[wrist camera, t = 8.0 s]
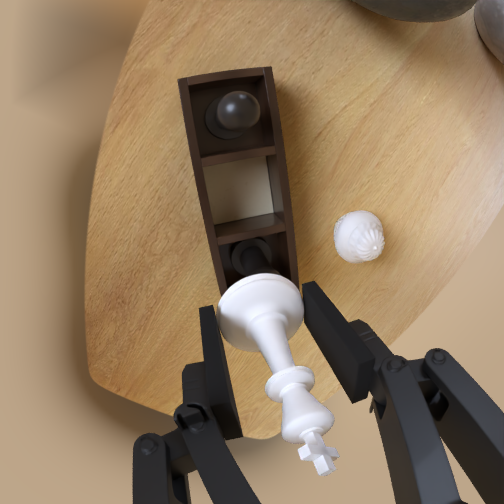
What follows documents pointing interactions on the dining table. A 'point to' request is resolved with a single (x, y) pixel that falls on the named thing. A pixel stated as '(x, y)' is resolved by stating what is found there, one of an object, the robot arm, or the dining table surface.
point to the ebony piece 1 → (232, 115)
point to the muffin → (358, 236)
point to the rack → (241, 173)
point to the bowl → (418, 9)
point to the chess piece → (279, 358)
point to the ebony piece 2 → (252, 257)
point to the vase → (491, 25)
